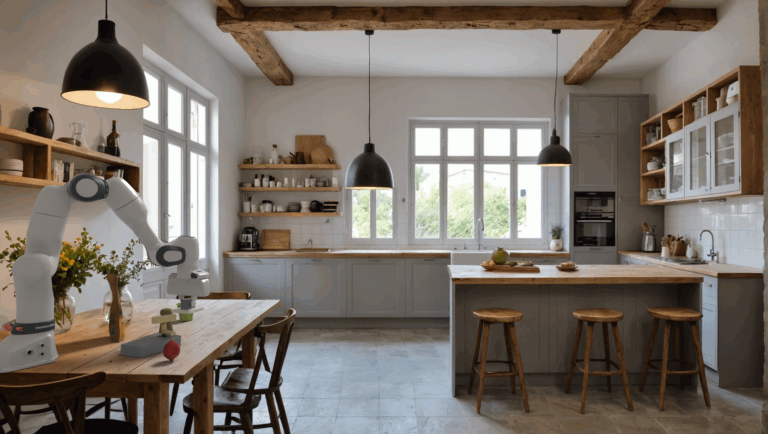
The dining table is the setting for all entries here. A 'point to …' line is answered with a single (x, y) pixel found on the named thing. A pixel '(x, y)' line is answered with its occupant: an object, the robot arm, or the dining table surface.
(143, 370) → the dining table surface
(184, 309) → the cover
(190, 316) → the plant pot
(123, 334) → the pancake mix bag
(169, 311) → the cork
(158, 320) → the t key
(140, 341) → the case
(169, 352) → the onion
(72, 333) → the dining table surface
